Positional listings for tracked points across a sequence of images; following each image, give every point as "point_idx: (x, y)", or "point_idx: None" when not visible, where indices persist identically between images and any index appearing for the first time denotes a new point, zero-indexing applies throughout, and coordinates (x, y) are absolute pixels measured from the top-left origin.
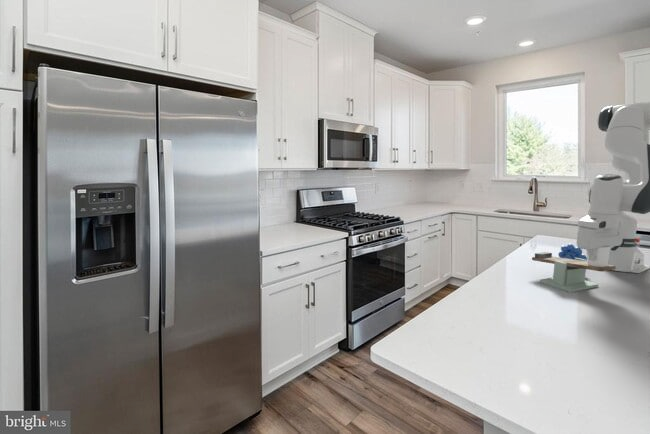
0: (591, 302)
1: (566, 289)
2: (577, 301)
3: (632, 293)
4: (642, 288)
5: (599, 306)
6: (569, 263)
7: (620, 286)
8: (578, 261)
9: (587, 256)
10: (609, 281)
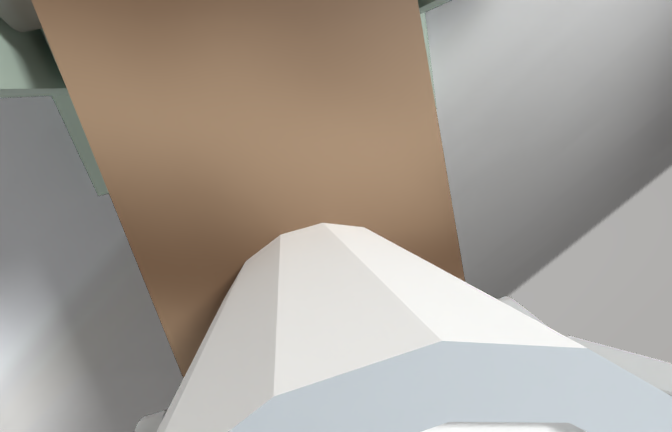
0: (124, 357)
1: (87, 161)
2: (34, 342)
3: (508, 243)
4: (646, 177)
5: (126, 407)
6: (64, 77)
7: (571, 126)
8: (315, 6)
9: (209, 334)
10: (613, 18)
